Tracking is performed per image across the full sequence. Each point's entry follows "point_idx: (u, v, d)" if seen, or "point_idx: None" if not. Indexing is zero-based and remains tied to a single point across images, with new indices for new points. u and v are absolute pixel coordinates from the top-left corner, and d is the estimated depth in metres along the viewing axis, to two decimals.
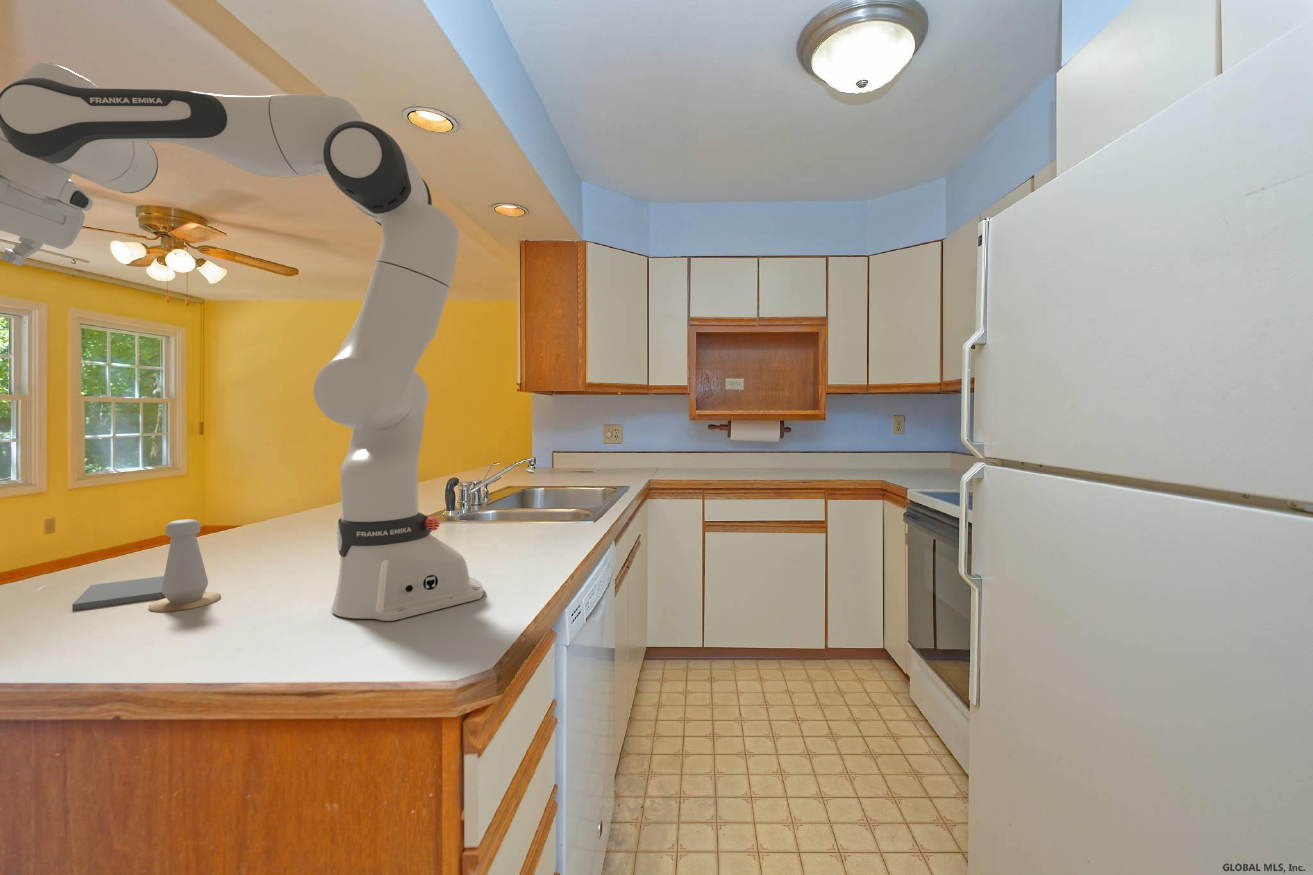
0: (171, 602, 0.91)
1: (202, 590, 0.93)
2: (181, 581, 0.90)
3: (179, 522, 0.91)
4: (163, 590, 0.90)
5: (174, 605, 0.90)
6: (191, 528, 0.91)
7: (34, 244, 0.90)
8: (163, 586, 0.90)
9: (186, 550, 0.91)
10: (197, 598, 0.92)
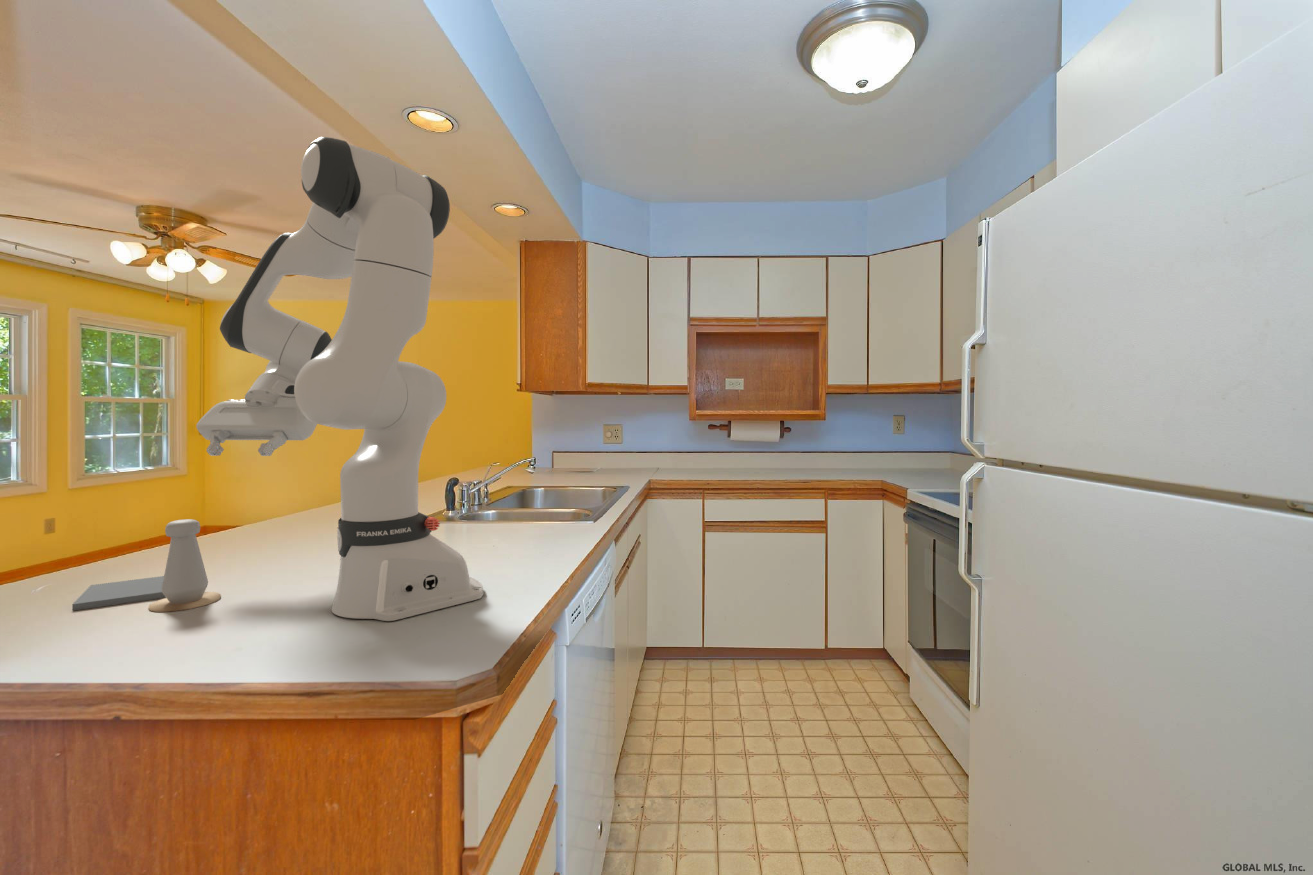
0: (171, 602, 0.91)
1: (202, 590, 0.93)
2: (181, 581, 0.90)
3: (179, 522, 0.91)
4: (163, 590, 0.90)
5: (174, 605, 0.90)
6: (191, 528, 0.91)
7: (275, 433, 1.06)
8: (163, 586, 0.90)
9: (186, 550, 0.91)
10: (197, 598, 0.92)
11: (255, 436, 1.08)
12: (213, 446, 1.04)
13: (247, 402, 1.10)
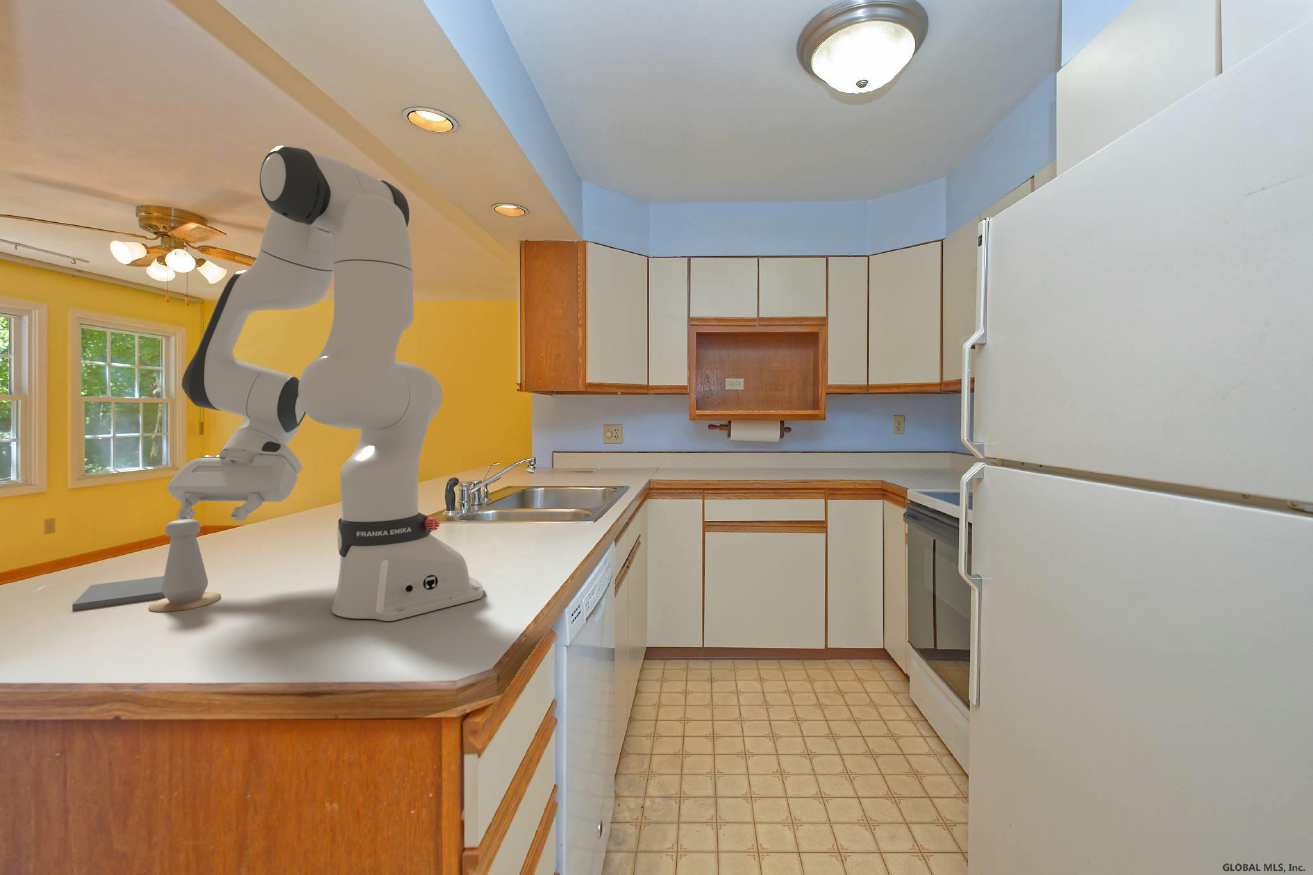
0: (171, 602, 0.91)
1: (202, 590, 0.93)
2: (181, 581, 0.90)
3: (179, 522, 0.91)
4: (163, 590, 0.90)
5: (174, 605, 0.90)
6: (191, 528, 0.91)
7: (250, 495, 0.99)
8: (163, 586, 0.90)
9: (186, 550, 0.91)
10: (197, 598, 0.92)
11: (229, 497, 1.02)
12: (184, 510, 0.98)
13: (222, 460, 1.04)
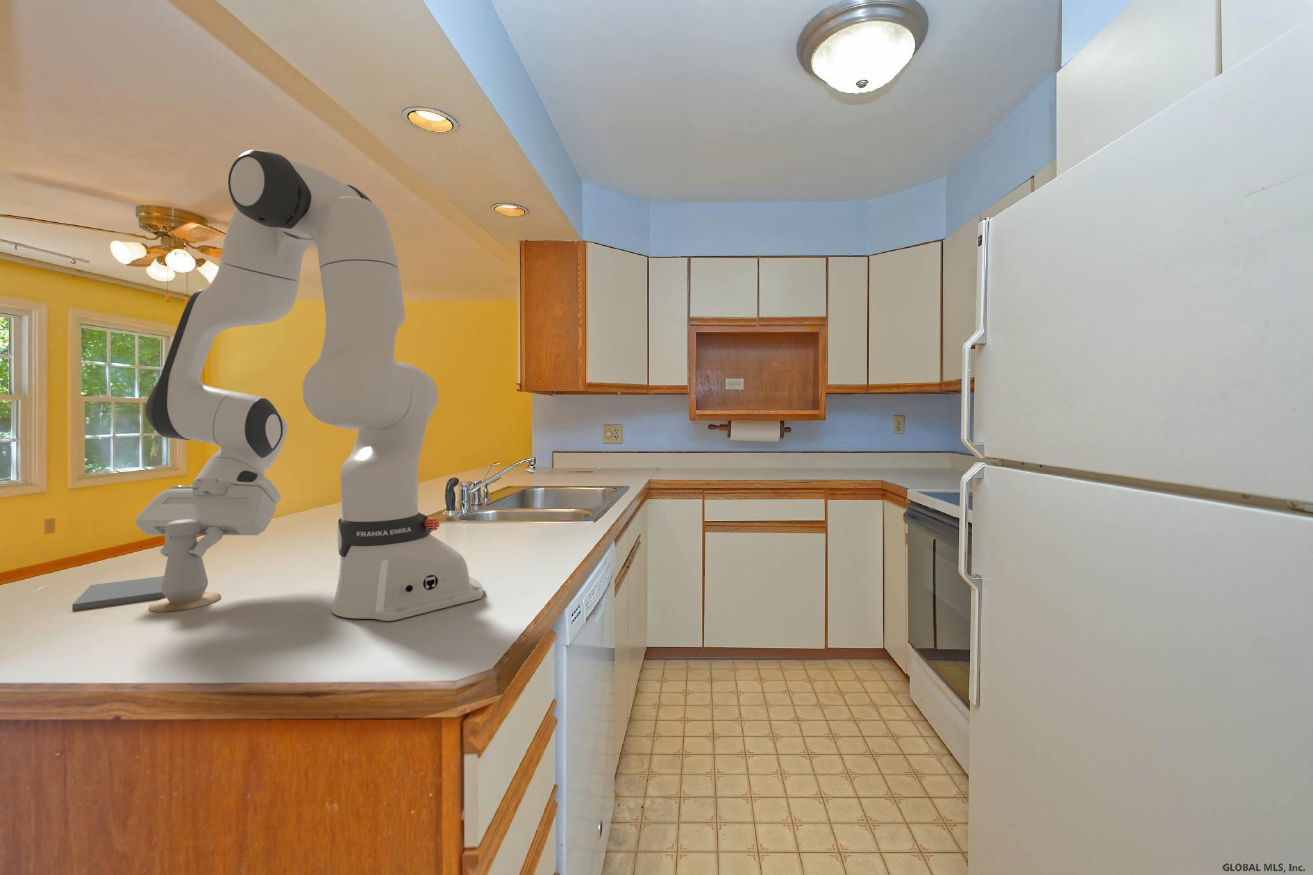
0: (171, 602, 0.91)
1: (202, 590, 0.93)
2: (181, 581, 0.90)
3: (179, 522, 0.91)
4: (163, 590, 0.90)
5: (174, 605, 0.90)
6: (191, 528, 0.91)
7: (208, 529, 0.94)
8: (163, 586, 0.90)
9: (186, 550, 0.91)
10: (197, 598, 0.92)
11: (202, 531, 0.96)
12: (168, 546, 0.92)
13: (195, 490, 0.98)
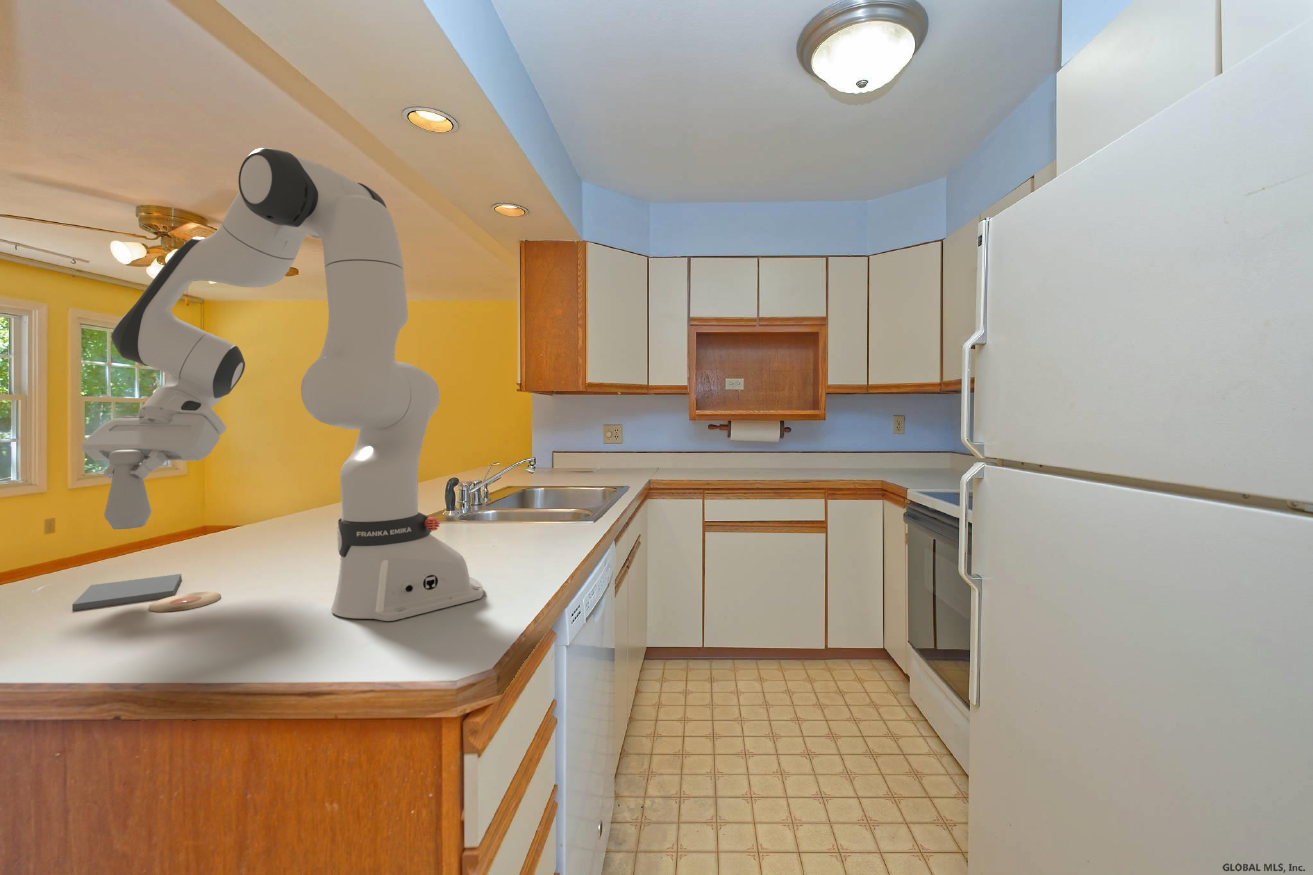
0: (114, 527, 0.94)
1: (145, 517, 0.97)
2: (125, 507, 0.94)
3: (123, 450, 0.95)
4: (106, 515, 0.94)
5: (174, 605, 0.90)
6: (135, 456, 0.96)
7: (151, 453, 0.98)
8: (106, 511, 0.94)
9: (130, 478, 0.95)
10: (140, 524, 0.96)
11: (147, 456, 1.00)
12: (111, 468, 0.96)
13: (141, 419, 1.02)
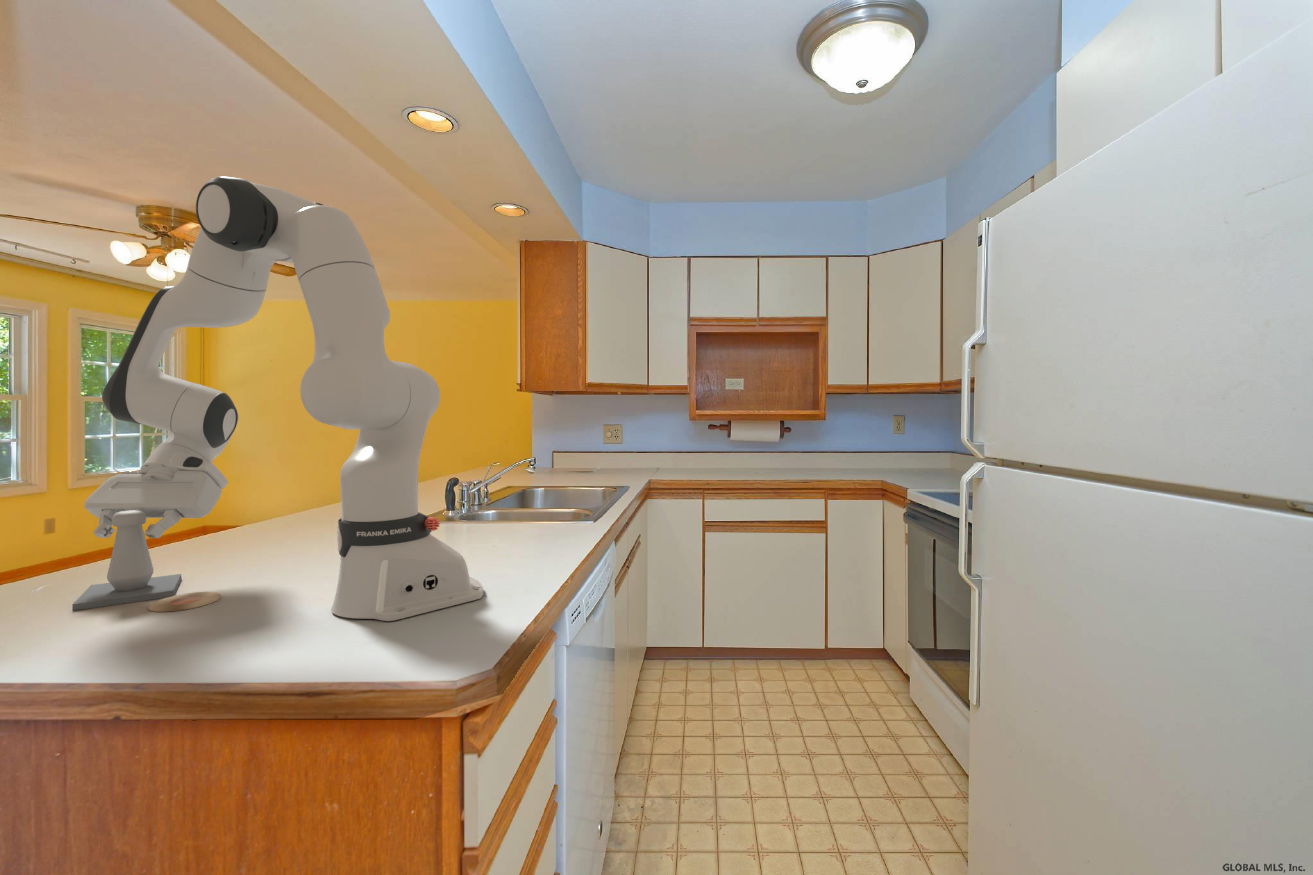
0: (117, 589, 0.95)
1: (148, 578, 0.97)
2: (128, 569, 0.95)
3: (126, 513, 0.95)
4: (109, 577, 0.94)
5: (174, 605, 0.90)
6: (138, 518, 0.96)
7: (166, 512, 0.98)
8: (109, 574, 0.94)
9: (132, 540, 0.96)
10: (143, 585, 0.97)
11: (149, 514, 1.00)
12: (101, 528, 0.96)
13: (143, 475, 1.03)
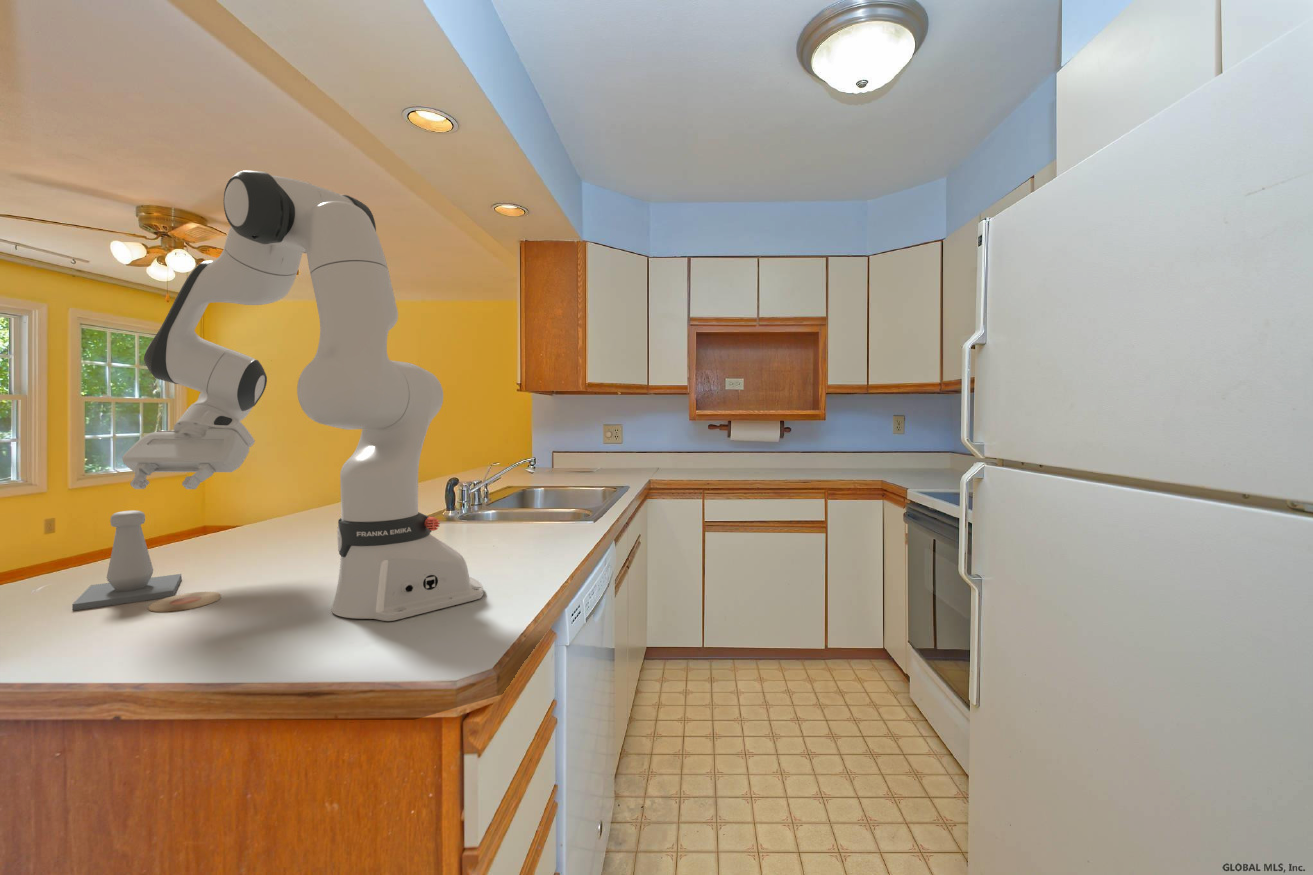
0: (117, 589, 0.95)
1: (148, 578, 0.97)
2: (127, 569, 0.95)
3: (124, 513, 0.95)
4: (109, 578, 0.94)
5: (174, 605, 0.90)
6: (136, 518, 0.96)
7: (201, 465, 1.05)
8: (108, 574, 0.94)
9: (131, 540, 0.96)
10: (143, 585, 0.97)
11: (183, 468, 1.07)
12: (137, 479, 1.03)
13: (176, 433, 1.09)
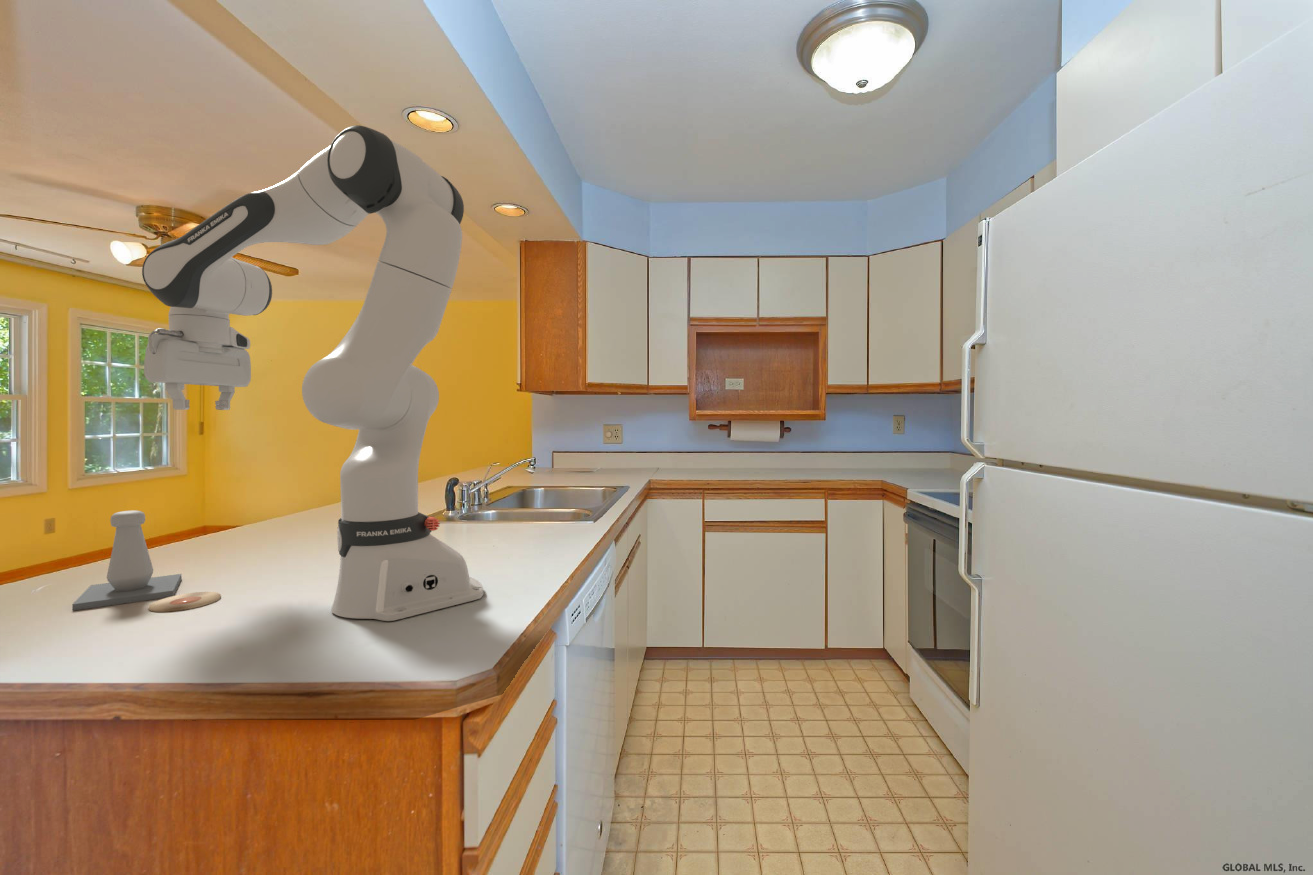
0: (117, 589, 0.95)
1: (148, 578, 0.97)
2: (127, 569, 0.95)
3: (124, 513, 0.95)
4: (109, 578, 0.94)
5: (174, 605, 0.90)
6: (136, 518, 0.96)
7: (230, 388, 1.12)
8: (108, 574, 0.94)
9: (131, 540, 0.96)
10: (143, 585, 0.97)
11: None
12: (187, 404, 1.02)
13: (196, 345, 1.03)
